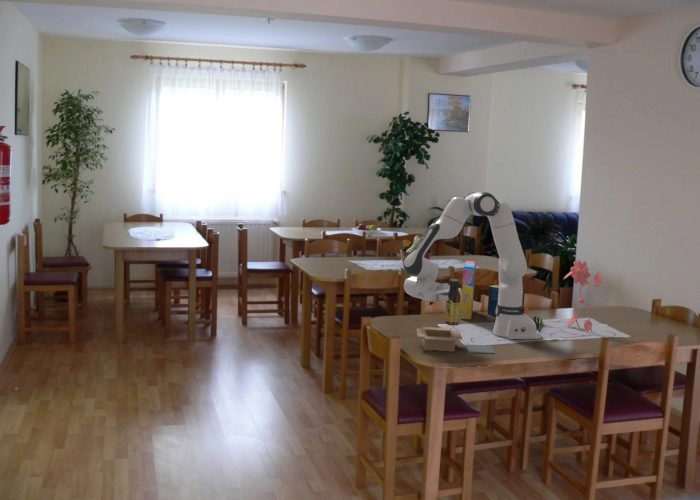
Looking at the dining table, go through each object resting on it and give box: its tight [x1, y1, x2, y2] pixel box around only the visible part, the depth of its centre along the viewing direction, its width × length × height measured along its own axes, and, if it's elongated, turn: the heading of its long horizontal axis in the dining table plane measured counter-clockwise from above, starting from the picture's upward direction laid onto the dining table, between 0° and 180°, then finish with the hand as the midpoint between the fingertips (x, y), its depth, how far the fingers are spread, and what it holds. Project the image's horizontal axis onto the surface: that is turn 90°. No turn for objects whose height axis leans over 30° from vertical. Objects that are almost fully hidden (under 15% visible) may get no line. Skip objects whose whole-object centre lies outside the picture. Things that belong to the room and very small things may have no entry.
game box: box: [459, 260, 477, 320], centre depth 385 cm, size 21×6×27 cm, turn 168°
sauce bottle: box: [444, 278, 462, 326], centre depth 323 cm, size 7×6×20 cm
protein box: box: [487, 283, 526, 318], centre depth 387 cm, size 10×15×16 cm
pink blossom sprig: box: [558, 259, 603, 337], centre depth 361 cm, size 15×26×35 cm, turn 26°
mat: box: [465, 343, 496, 355], centre depth 324 cm, size 11×11×1 cm
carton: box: [415, 326, 463, 352], centre depth 326 cm, size 19×19×6 cm
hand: (454, 297), depth 322 cm, fingers closed on sauce bottle, 6 cm apart
